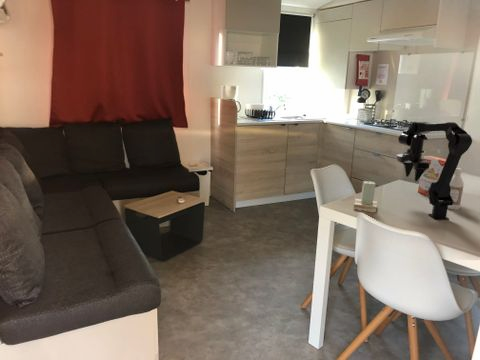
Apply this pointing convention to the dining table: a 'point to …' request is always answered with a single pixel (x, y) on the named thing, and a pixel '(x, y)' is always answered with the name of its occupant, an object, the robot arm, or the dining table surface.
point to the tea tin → (368, 192)
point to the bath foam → (456, 189)
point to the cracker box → (430, 173)
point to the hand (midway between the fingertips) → (411, 178)
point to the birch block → (365, 206)
